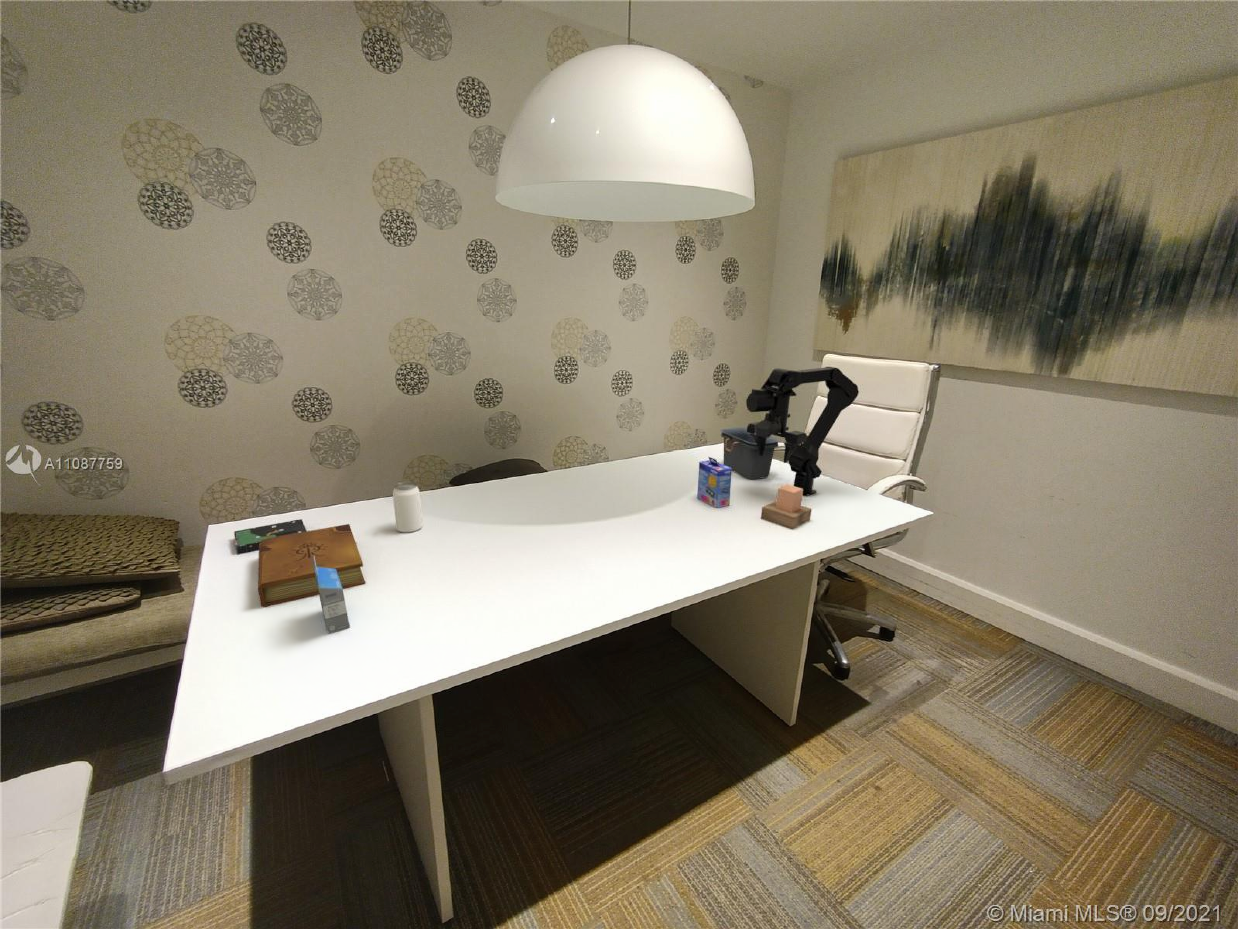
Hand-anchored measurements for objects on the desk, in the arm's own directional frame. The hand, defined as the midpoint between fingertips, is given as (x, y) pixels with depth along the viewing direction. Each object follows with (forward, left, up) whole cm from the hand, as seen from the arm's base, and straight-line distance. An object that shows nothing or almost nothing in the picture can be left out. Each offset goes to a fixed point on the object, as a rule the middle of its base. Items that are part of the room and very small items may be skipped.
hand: (772, 459), depth 169 cm
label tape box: (+126, -6, -13) cm, 127 cm away
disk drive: (+131, -52, -13) cm, 141 cm away
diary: (+126, -29, -13) cm, 130 cm away
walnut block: (+12, +15, -13) cm, 23 cm away
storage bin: (-13, -21, -13) cm, 28 cm away
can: (+101, -40, -13) cm, 109 cm away
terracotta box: (+12, +15, -9) cm, 21 cm away
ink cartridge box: (+19, -7, -13) cm, 24 cm away
